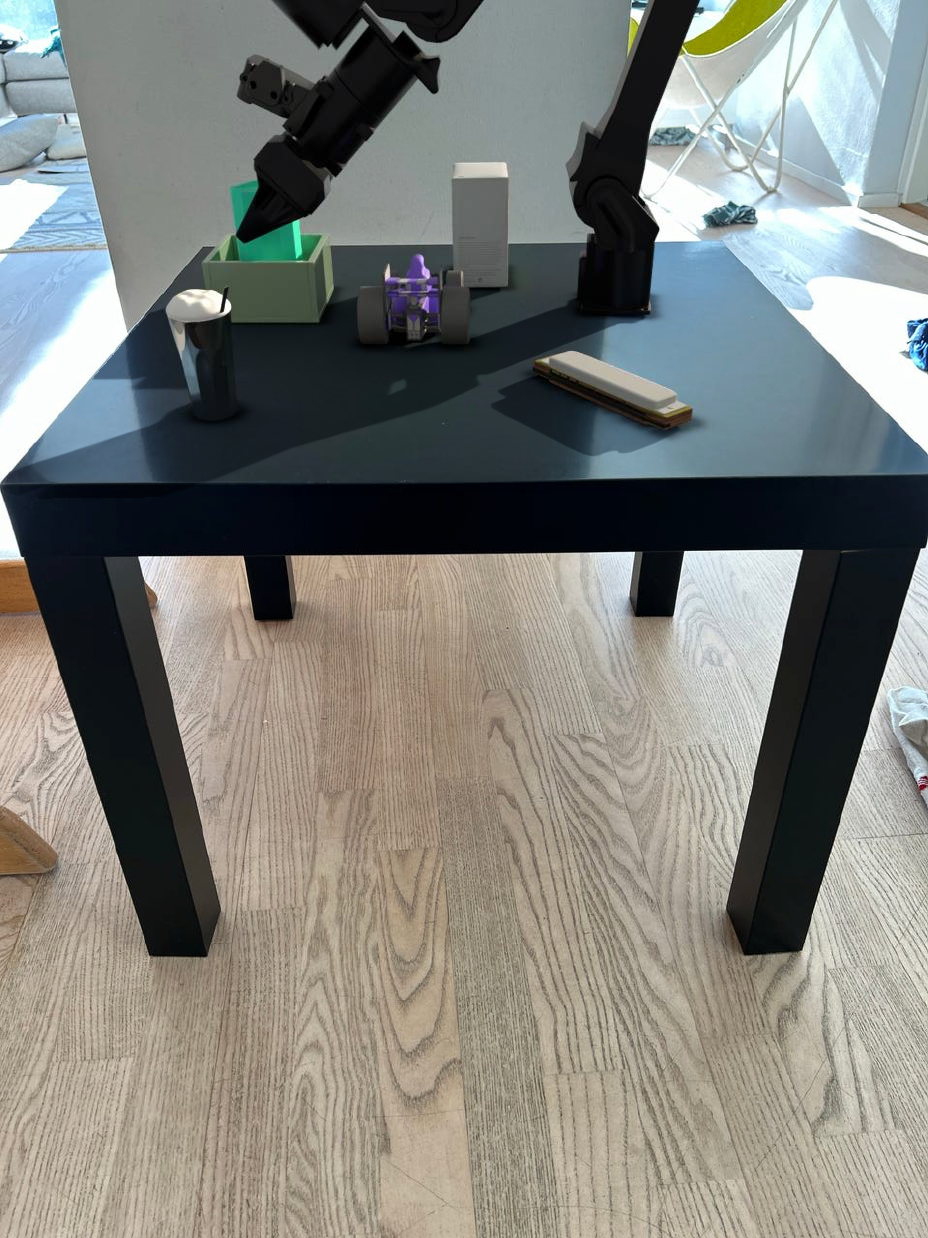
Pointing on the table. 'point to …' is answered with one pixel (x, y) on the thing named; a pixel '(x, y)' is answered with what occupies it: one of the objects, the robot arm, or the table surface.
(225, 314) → the milkshake
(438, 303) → the toy race car
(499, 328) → the table surface
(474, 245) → the small box
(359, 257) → the table surface
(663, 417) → the harmonica
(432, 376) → the table surface
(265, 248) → the candle
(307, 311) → the open green box
